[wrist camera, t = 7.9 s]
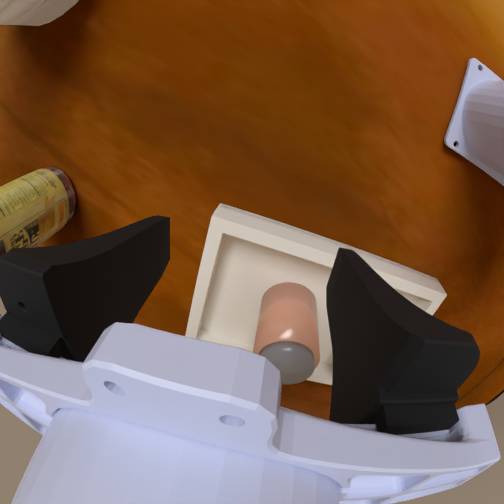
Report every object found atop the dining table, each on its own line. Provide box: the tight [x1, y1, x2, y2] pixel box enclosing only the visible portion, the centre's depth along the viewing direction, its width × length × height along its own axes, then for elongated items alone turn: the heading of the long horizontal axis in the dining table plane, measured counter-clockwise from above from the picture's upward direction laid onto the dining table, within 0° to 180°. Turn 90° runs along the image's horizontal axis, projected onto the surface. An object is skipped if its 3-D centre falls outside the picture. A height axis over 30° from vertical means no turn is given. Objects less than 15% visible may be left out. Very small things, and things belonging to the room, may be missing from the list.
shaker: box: [253, 282, 320, 384], centre depth 22 cm, size 5×5×7 cm
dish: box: [185, 203, 447, 385], centre depth 25 cm, size 20×14×2 cm
